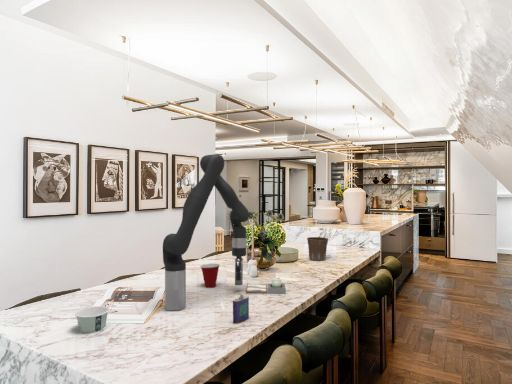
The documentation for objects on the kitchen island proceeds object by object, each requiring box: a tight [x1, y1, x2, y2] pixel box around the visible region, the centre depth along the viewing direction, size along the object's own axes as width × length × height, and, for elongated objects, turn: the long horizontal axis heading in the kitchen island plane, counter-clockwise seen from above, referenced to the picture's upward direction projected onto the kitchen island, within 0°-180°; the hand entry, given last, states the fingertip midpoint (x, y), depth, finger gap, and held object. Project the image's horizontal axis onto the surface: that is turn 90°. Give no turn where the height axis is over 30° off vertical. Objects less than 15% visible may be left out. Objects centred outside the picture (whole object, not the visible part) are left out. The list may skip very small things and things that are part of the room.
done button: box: [271, 279, 282, 287], centre depth 189 cm, size 5×5×4 cm
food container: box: [74, 305, 110, 333], centre depth 140 cm, size 12×12×6 cm
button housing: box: [267, 282, 287, 295], centre depth 189 cm, size 9×9×3 cm
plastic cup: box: [199, 263, 221, 289], centre depth 200 cm, size 11×11×12 cm
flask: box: [232, 293, 250, 325], centre depth 148 cm, size 9×3×11 cm, turn 144°
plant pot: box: [306, 236, 329, 262], centre depth 275 cm, size 16×16×16 cm
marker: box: [234, 263, 244, 286], centre depth 189 cm, size 4×4×11 cm
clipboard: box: [245, 283, 268, 295], centre depth 194 cm, size 16×11×1 cm
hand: (238, 279), depth 189 cm, fingers closed on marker, 4 cm apart
